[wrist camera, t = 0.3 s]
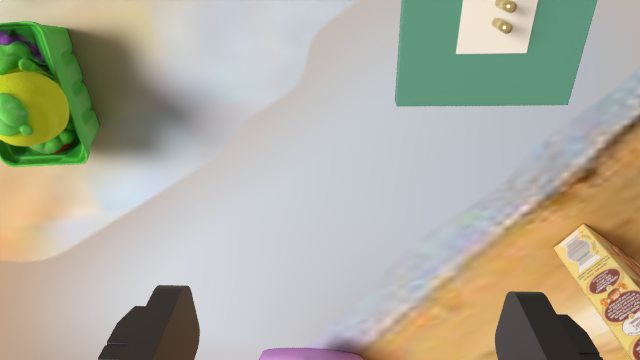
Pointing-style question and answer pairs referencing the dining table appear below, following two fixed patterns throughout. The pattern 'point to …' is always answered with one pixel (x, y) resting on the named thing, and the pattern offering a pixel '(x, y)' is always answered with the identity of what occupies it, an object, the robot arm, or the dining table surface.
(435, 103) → the header board
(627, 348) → the candy box
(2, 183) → the dining table surface
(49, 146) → the fruit basket
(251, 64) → the dining table surface
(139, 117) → the dining table surface
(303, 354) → the teakettle
